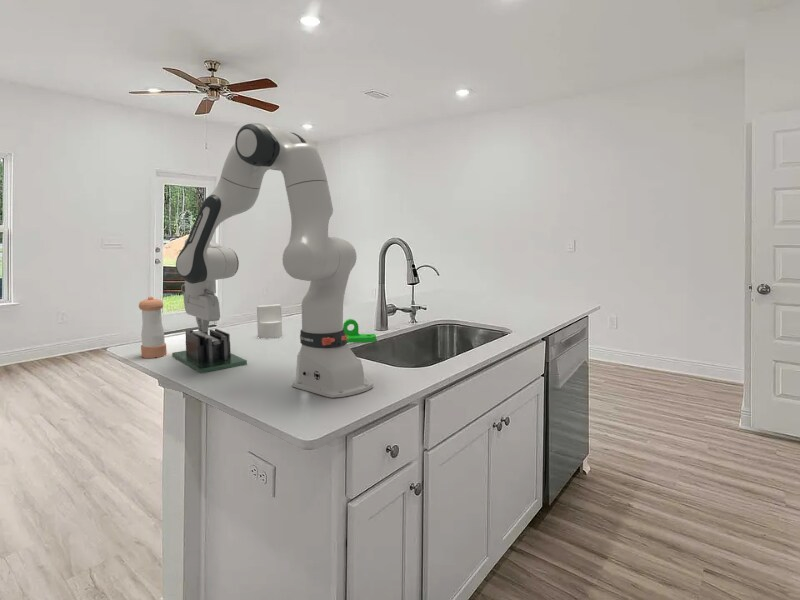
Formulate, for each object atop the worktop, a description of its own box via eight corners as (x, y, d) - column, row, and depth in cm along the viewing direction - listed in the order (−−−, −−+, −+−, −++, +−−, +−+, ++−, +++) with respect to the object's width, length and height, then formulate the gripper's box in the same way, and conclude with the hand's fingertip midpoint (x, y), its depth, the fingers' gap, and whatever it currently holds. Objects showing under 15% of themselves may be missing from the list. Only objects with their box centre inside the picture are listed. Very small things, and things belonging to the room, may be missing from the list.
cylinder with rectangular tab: (277, 332, 194) (276, 303, 192) (285, 337, 186) (284, 306, 185) (254, 335, 189) (253, 304, 187) (261, 339, 182) (260, 308, 180)
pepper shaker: (143, 353, 160) (139, 295, 157) (167, 351, 163) (164, 294, 160) (140, 359, 154) (136, 298, 151) (165, 357, 156) (162, 297, 153)
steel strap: (222, 345, 148) (222, 340, 147) (212, 346, 146) (212, 342, 145) (200, 334, 161) (200, 329, 160) (190, 335, 159) (190, 331, 158)
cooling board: (246, 364, 149) (245, 336, 148) (200, 373, 140) (199, 343, 138) (215, 349, 167) (214, 324, 165) (172, 356, 157) (170, 330, 156)
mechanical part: (344, 343, 178) (344, 322, 177) (343, 340, 184) (343, 319, 183) (377, 342, 181) (377, 321, 179) (374, 338, 186) (374, 318, 185)
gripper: (224, 290, 147) (226, 335, 149) (199, 284, 162) (201, 325, 164) (203, 292, 143) (205, 338, 145) (179, 286, 158) (181, 328, 160)
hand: (203, 331), depth 155 cm, fingers closed
